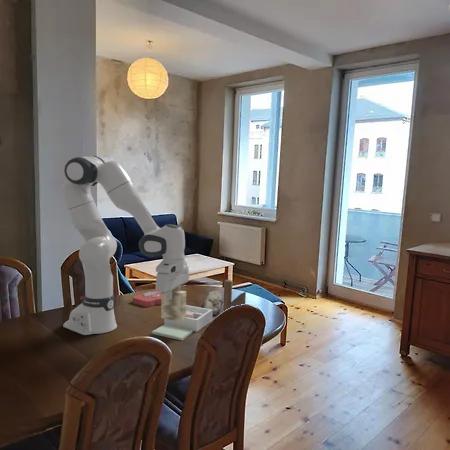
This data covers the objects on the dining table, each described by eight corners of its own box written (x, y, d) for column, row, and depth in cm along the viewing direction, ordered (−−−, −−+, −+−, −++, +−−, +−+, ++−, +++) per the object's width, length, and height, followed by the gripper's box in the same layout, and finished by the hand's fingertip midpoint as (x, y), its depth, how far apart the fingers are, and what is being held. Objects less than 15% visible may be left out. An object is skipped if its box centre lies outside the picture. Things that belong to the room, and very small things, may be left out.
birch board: (161, 318, 173) (161, 289, 171) (165, 315, 175) (165, 288, 174) (182, 322, 169) (182, 293, 167) (185, 319, 171) (186, 291, 170)
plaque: (152, 301, 202) (130, 296, 210) (152, 309, 202) (130, 303, 211) (176, 293, 217) (155, 288, 225) (176, 301, 217) (155, 295, 225)
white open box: (164, 324, 182) (164, 313, 181) (181, 314, 195) (181, 304, 195) (196, 331, 175) (197, 320, 175) (212, 320, 189) (212, 309, 188)
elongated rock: (224, 297, 229) (206, 298, 230) (224, 288, 229) (206, 288, 229) (222, 316, 194) (201, 316, 195) (222, 305, 194) (201, 305, 194)
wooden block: (240, 324, 186) (241, 284, 184) (221, 318, 192) (222, 280, 190) (244, 321, 189) (246, 283, 186) (225, 316, 195) (227, 279, 193)
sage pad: (152, 333, 171) (152, 331, 171) (163, 326, 180) (163, 324, 179) (181, 340, 166) (181, 337, 166) (192, 332, 174) (192, 330, 174)
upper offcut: (174, 319, 181) (174, 313, 181) (177, 316, 185) (177, 310, 184) (191, 321, 179) (191, 315, 179) (194, 318, 183) (194, 312, 183)
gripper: (180, 258, 180) (179, 290, 181) (153, 268, 161) (153, 303, 163) (192, 260, 177) (192, 292, 179) (167, 270, 159) (167, 305, 160)
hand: (173, 297), depth 171 cm, fingers closed on birch board, 3 cm apart
